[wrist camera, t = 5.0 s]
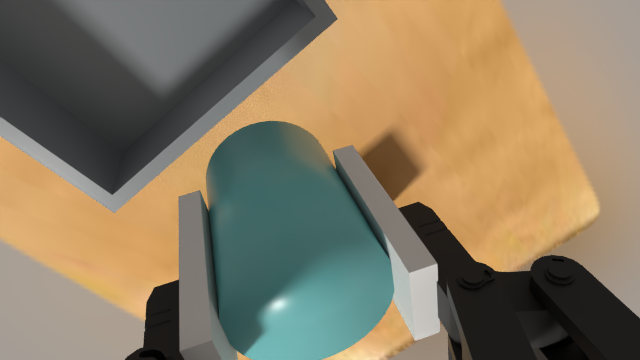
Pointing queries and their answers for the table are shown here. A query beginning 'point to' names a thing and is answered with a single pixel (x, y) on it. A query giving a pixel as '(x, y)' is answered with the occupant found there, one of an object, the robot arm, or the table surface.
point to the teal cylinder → (291, 248)
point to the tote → (136, 79)
